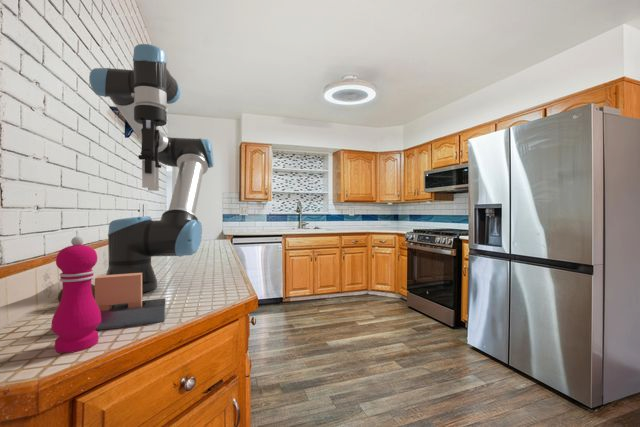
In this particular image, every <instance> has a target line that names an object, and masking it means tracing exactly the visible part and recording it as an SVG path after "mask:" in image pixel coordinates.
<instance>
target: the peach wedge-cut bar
mask: <svg viewBox="0 0 640 427" xmlns="http://www.w3.org/2000/svg"><path fill="white" fill-rule="evenodd" d="M94 285H95V301H96V303H97V305H98V307H99V309H100V311H107V310H111V305H114V304H123V303H128V308H134V307H142V301H143V293H142V273H130V274H116V275H106V274H103V275H97V276H96V277H94Z"/></svg>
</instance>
